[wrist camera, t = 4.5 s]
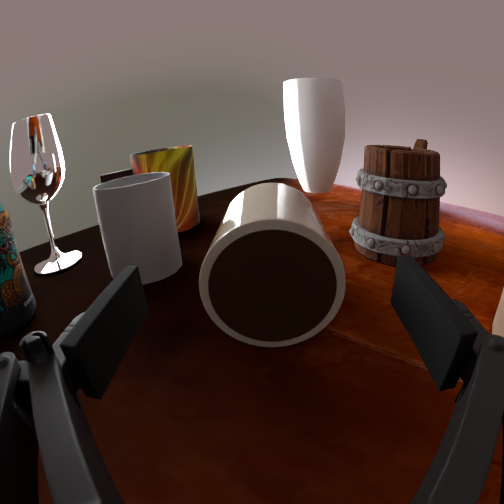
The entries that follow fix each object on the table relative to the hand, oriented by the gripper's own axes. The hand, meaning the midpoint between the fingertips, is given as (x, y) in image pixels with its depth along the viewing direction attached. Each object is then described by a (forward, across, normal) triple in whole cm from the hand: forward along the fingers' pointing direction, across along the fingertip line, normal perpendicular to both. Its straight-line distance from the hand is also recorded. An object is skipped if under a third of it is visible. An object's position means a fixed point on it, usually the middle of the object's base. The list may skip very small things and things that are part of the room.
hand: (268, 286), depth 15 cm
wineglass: (+19, -29, -7) cm, 35 cm away
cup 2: (+38, +8, -7) cm, 40 cm away
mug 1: (+31, -17, -7) cm, 36 cm away
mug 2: (+20, +16, -7) cm, 27 cm away
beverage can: (+5, -26, -7) cm, 27 cm away
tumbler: (+9, 0, -7) cm, 11 cm away
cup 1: (+17, -14, -7) cm, 23 cm away
